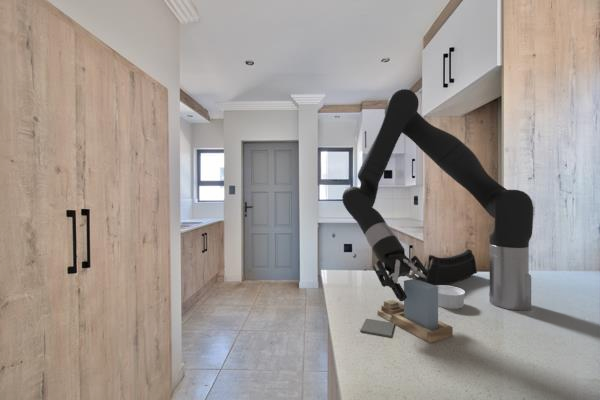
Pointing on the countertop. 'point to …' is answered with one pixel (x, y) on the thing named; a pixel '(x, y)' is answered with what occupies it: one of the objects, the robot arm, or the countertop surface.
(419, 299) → the blue-grey rectangular block
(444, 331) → the rack
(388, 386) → the countertop surface
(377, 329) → the pad
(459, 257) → the magazine
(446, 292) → the ramekin
